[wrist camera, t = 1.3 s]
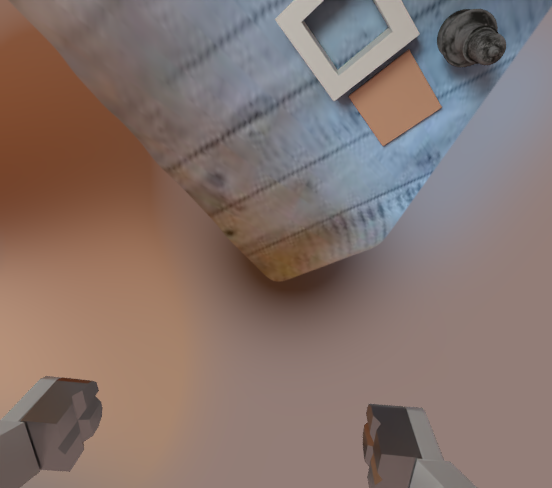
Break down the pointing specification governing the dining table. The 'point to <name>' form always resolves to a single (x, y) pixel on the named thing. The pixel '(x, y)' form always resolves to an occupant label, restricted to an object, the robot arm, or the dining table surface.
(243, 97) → the dining table surface
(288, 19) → the socket block
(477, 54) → the dark turned stone ornament
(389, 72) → the terracotta tile
